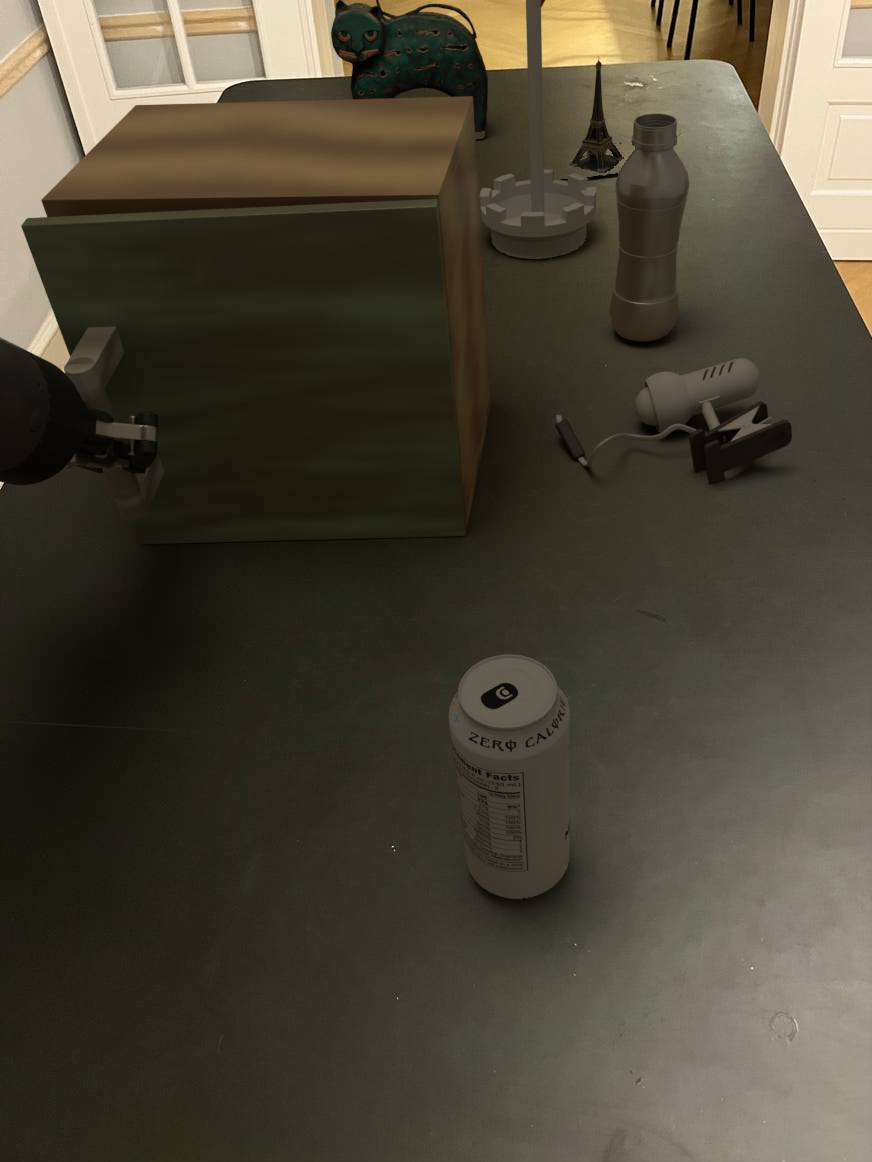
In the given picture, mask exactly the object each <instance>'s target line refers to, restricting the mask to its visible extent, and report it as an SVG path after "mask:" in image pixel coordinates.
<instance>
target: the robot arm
mask: <svg viewBox="0 0 872 1162" xmlns="http://www.w3.org/2000/svg"><path fill="white" fill-rule="evenodd" d="M157 449H158V415H157V414H153V413H152V412H147V411H146V412H144V413H138V415H137V416H129V424H125V423H115V422H114V419H113V417H112V416H111V415H110V414H108V413H107V412H105V411H102V410H97V409H94V408H91V407H90V406H89V404H88V403H87V402H86V401H83V399H82V398H81V396H80V394H79V392H78V390H77V388H76V387H75V385H74V384H73V382H72V381H71V379H70V378H69V377H68V376H67V375H66V374H65V371H64V370H62V369H61V368H60V367H58V365H56V364H54V363H52V362H50V361H48V360H47V359H45V358H43V357H40V356H39V355H37V354H34V353H33V352H30V351H29V350H27V349H26V348H25V349H24V348H22V347H21V346H19V345H17V344H15V343H13V342H11V341H9V340H7V339H6V338H3V337H1V336H0V483H4V484H8V485H14V486H28V485H30V486H31V485H34V484H39V483H43V482H45V481H47V480H49V479H52V478H53V477H55V476H56V475H58V474H59V473H60V472H61V471H63V470H64V469H72V468H75V467H79V468H81V469H85V470H88V471H89V472H94V473H96V474H104V473H103V470H102V468H111V467H112V466H113V467H115V468H117V469H123V470H126V471H129V472H131V473H139V474H144V473H145V472H146V468H150V466H151V464H152V463H153V461H154V459H155V458H156V456H157Z"/></svg>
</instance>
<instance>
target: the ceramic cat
mask: <svg viewBox="0 0 872 1162" xmlns="http://www.w3.org/2000/svg"><path fill="white" fill-rule="evenodd" d="M375 2H376V5H374V6H371V5H369V4H367V3H362V2H353V3H351V4H347V3H345V2H344V0H338V1H337V2H335V9H334V10H335V11H334V19H333V22H332V25H331V30H330V36H331V37H330V38H331V44H332V47H333V50H334V52H335V53H336V55H337V57H339V58H340V59H341V60H342V61H344V62H346V63H349V64H351V66H352V67H351V68H352V69H351V77H350V91H351V97H352V99H390V98H396V97H397V96H399V95H400V94H403V93H406V92H409V91H413V90H417V89H431V90H434V91H439V92H441V93H444V94H445V95H447V96H448V97H468V96H472V97H473V107H474V125H475V132H482V131H485V130H486V131H487V122H488V121H487V120H488V100H489V99H488V96H489V95H488V94H489V78H488V72H487V71H488V70H487V67H486V64H485V62H484V59H483V55H482V54H481V51H480V49H479V45H478V43H477V38H478V37H477V32H476V29H475V26H474V25H473V22H472V21H471V19H470V17H469V16H468V14H466V12H464V11H463V10H462V9H461V8H459V7H456V6H453V5H451V4H445V3H427V4H424V5H421V6H419V7H417V8H416V9H412V10H409V11H407V12H404V13H402V14H400V15H395V14H391V13H389V12H387V11H384V10H382V9H383V8H382V7H381V4H380V0H375ZM431 8H439V9H444V10H450V11H453V12H455V13H457V14H459V15H460V16H461V17H462V18H463V19H465V20H466V21H467V23H468V24H469V26H470V28H471V30H472V31H470V30H469V29H468V28H467V26H465V25H464V24H463V23H462V22H461V21H459V20H457V19H456V18H455V17H453V16H451V15H448V14H445V13H442V12H441V13H439V12H435V11H422V10H425V9H431Z"/></svg>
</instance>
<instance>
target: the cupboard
mask: <svg viewBox="0 0 872 1162" xmlns="http://www.w3.org/2000/svg"><path fill="white" fill-rule="evenodd" d="M476 144H477V143H476V140H475V125H474V107H473V97H472V96H468V97H450V96H435V97H434V96H431V97H400V98H399V97H398V98H397V97H394V98H390V99H353V98H352V99H321V100H320V99H318V100H317V99H316V100H315V99H314V100H280V101H279V100H278V101H277V100H276V101H275V100H274V101H242V102H241V101H237V102H205V103H204V102H202V103H201V102H200V103H165V104H164V103H161V104H160V103H159V104H158V103H157V104H135V105H134V106H133V107H132V108H131V109H130V110H128V112H127V113H126V114H125V115H124V116H123V117H122V118H121V119H120V120H119V121H118V122H117V123H116V124H115V125H114V126H113V127H112V128H111V129H109V131H108V132H107V133H106V134H105V136H103V137H102V139H100V140H99V141H98V142H97V143H96V144H95V145H94V146H93V148H91V149H90V150H89V152H87V153H86V154H85V155H84V156H83V157H82V158H81V159H80V160H79V161H78V162H77V163H76V164H75V165H74V166H73V167H72V168H71V169H70V170H69V171H68V172H67V173H66V174H65V175H64V176H63V177H62V178H61V179H60V180H59V181H58V182H57V183H56V184H55V185H54V186H53V187H52V188H51V189H50V191H48V193H46V194H45V195H44V196H43V198H41V200H40V202H41V204H42V207H43V209H44V212H45V215H46V217H61V216H82V215H104V214H125V213H146V212H168V211H189V210H210V209H232V208H253V207H274V206H295V205H317V204H338V203H359V202H381V201H402V200H423V199H437V200H438V208H439V220H440V231H441V243H442V254H443V266H444V277H445V288H446V300H447V311H448V323H449V334H450V346H451V357H452V369H453V380H454V391H455V403H456V414H457V426H458V437H459V449H460V460H461V471H462V483H463V494H464V506H465V517H466V526H469V525H468V524H469V519H470V514H471V509H472V503H473V499H474V494H475V490H476V489H475V488H476V483H477V478H478V473H479V468H480V462H481V457H482V453H483V448H484V443H485V438H486V431H487V426H488V423H489V422H488V421H489V416H490V413H491V406H492V396H491V381H490V379H491V378H490V364H489V363H490V361H489V345H488V328H487V313H486V312H487V311H486V294H485V277H484V262H483V261H484V260H483V247H482V246H483V245H482V228H481V210H480V192H479V179H478V176H479V175H478V161H477V145H476Z"/></svg>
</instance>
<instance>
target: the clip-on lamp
mask: <svg viewBox="0 0 872 1162" xmlns="http://www.w3.org/2000/svg"><path fill="white" fill-rule="evenodd" d="M760 381H761V377H760V371H759V369H758V367H757V366H756V364H755V363H754V362H753V361H751V360H750V359H747V358H745V357H739V358H735V359H732V360H731V359H730V360H729V361H725V362H722V363H719V364H714V365H711V366H708V367H704V368H702V369H698V370H695V371H692V372H691V371H690V372H688V373H684V374H682V375H681V374H679V373H676V372H673V371H660V372H656V373H654V374H652V375H650V376H648V377H647V378H646V379H645V380H644V388H643V389H642V390H640V392H639V393H638V394H637V396H636V398H635V401H634V410H635V411H634V412H635V414H636V416H637V418H638V419H639V420H640V421H641V422H642V423H644V424H645V425H648V426H652V427H653V426H654V427H655V429H656V431H657V432H658V434H655V435H642V434H641V435H640V434H632V433H617V434H613V435H611V436H609V437H606V438H605V439H603V440H602V441H601V442H600V443H598V445H596V446H595V448H594V449H593V451H592V452H591V455H590V456H589V459H588V461H587V460H586V459H585V456H586V451H585V450H584V448H583V446H582V444H581V443H580V440H579V439H578V438H577V435H576V433H575V431H574V430H573V428H572V426H571V424H570V422H569V421H568V419H563V417H562V415H561V414H556V415H555V420H556V424H555V428H556V431H557V432H558V435H559V436H560V438H561V440H562V442H563V444H564V445H565V447H566V449H567V450H568V452H569V454H570V456H571V458H572V460H573V461H576V462H577V461H579V463H580V464H581V465H582V466H583V467H589V466H592V464H593V463H594V459H595V457H596V455H597V453H598V451H599V450H600V449H601V448H602V447H603V446H605V445H606V444H607V443H610V442H612V441H613V440H619V439H627V440H634V441H644V442H655V441H659V440H663V439H665V438H666V437H667V436H669V435H670V434H671V433H672V432H674V431H677V430H680V431H683V432H686V433H688V434H689V436H688V440H689V447H690V454H691V460H692V467H693V471H694V472H695V473H696V474H697V473H700V472H704V471H706V475H707V481H708V483H709V484H710V485H714V484H718V483H720V482H722V481H723V480H724V479H725V472H727V471H730V470H732V469H735V468H737V467H740V466H742V465H745V464H747V463H749V462H752V461H754V460H756V459H760V458H761V457H763V456H766V455H768V454H771V453H773V452H775V451H778V450H781V449H783V448H785V447H787V446H788V445H789V444H790V443H791V442H792V440H793V431H792V424H791V422H790V421H789V420H787V419H782V420H779V421H777V422H773V423H771V422H772V419H773V418H772V416H769V412H768V405H767V404H766V403H765V402H764V401H761V400H760V401H756V402H755V403H754V404H752V405H750V406H749V407H747V408H746V409H743V410H742V411H740V412H739V413H737V414H736V415H735V414H734V415H733V416H732V417H730V418H729V419H727V420H725V421H724V422H722V423H720V421H719V418H718V416H717V413H716V412H715V409H717V408H720V407H723V406H727V405H730V404H733V403H737V402H740V401H743V400H746V399H749V398H751V397H753V396H754V395H755V394H756V392H757V390H758V388H759V385H760ZM699 414H702V415H703V418H704V420H705V422H706V424H707V427H708V429H709V430H708V431H707V432H706V431H705V430H704V429H703V428H698V429H696V428H693V427H692V426H688V425H686V424H687V423H688V421H689V420H690V419H691V417H693V416H696V415H699Z"/></svg>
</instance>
